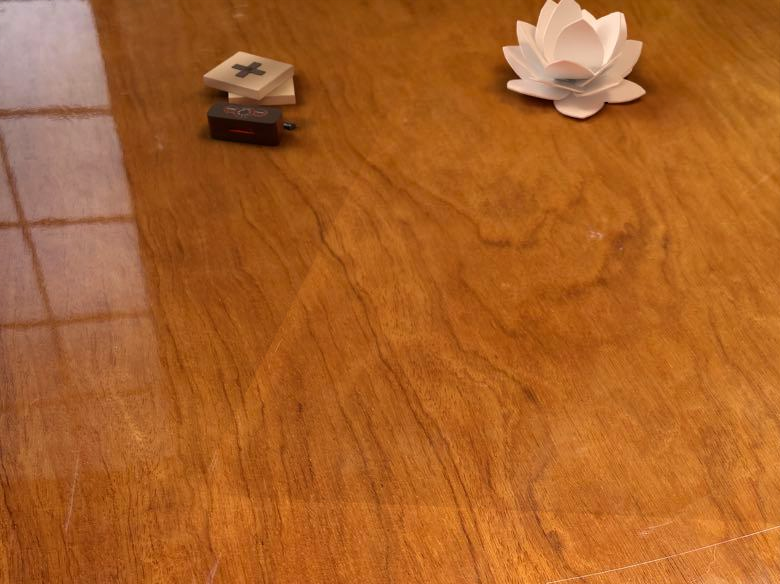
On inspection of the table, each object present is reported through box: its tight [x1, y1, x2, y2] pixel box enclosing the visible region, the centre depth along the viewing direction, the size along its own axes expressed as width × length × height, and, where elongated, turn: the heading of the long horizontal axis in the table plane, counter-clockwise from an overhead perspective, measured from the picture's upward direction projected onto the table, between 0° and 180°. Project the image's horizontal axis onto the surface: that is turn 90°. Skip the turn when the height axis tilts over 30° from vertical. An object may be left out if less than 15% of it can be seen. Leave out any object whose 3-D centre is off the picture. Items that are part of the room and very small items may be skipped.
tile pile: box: [202, 51, 297, 107], centre depth 110 cm, size 8×8×3 cm
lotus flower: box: [502, 0, 647, 119], centre depth 113 cm, size 14×15×9 cm
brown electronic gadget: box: [206, 101, 300, 148], centre depth 105 cm, size 5×7×3 cm, turn 81°
